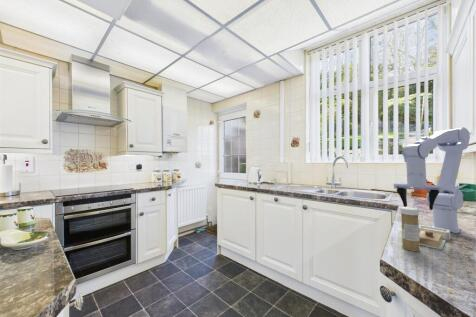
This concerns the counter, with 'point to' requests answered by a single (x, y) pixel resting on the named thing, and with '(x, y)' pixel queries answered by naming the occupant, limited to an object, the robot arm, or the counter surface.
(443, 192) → the robot arm
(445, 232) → the butter dish
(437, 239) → the lid
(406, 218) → the sprinkles bottle
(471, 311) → the counter surface
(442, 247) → the mat
